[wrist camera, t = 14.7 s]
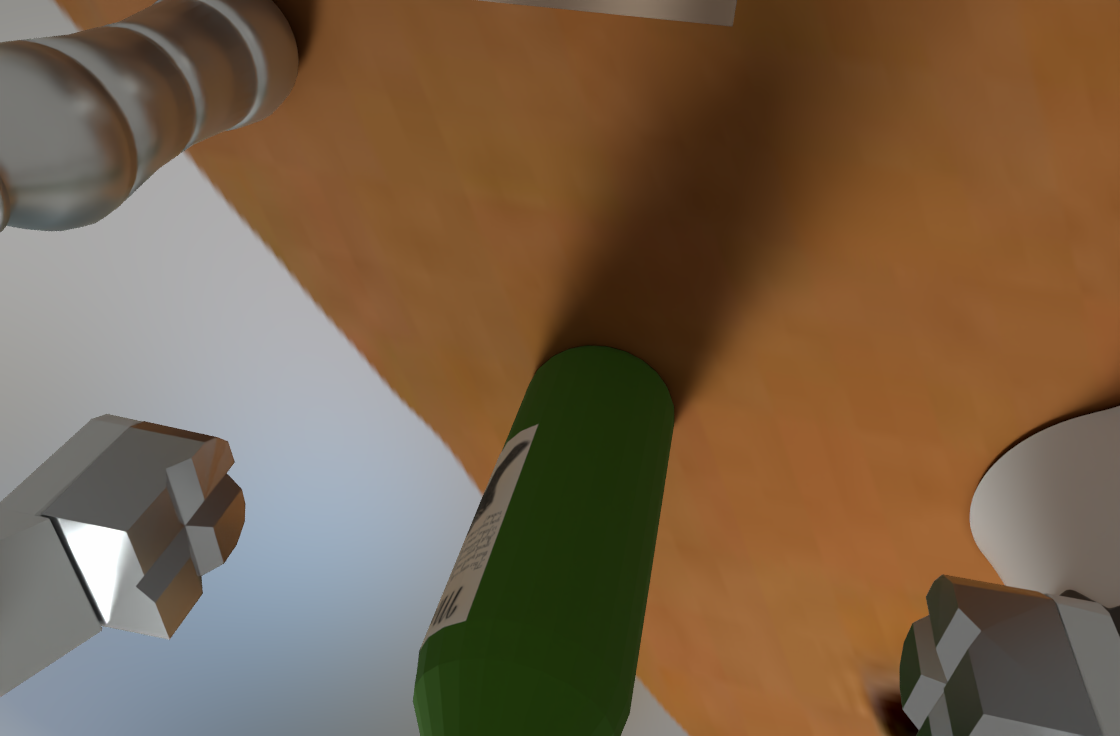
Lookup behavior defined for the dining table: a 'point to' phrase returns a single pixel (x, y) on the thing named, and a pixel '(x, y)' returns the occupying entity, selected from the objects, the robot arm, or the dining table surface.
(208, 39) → the plastic bottle
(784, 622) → the dining table surface
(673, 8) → the block
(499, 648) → the wine bottle
